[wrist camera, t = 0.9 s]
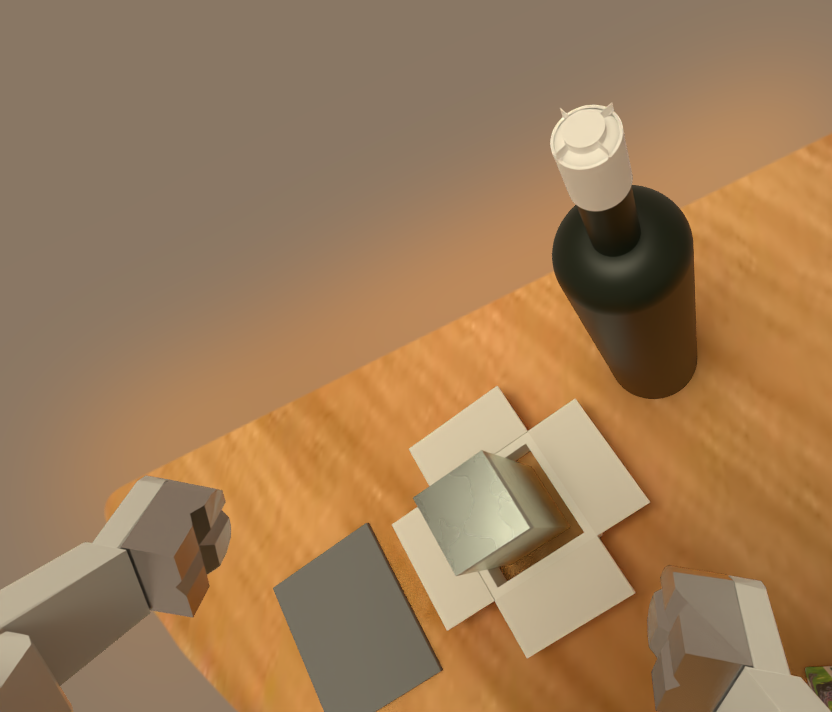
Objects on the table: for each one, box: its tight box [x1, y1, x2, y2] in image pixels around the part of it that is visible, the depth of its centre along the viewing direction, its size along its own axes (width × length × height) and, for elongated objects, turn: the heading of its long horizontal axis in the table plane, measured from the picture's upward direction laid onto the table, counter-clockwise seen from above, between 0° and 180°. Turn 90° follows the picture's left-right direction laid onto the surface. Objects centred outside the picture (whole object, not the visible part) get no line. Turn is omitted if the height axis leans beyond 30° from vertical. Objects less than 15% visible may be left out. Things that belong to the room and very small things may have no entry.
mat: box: [273, 523, 443, 712], centre depth 50 cm, size 10×12×1 cm
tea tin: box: [413, 450, 570, 576], centre depth 41 cm, size 5×5×12 cm
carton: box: [392, 386, 650, 658], centre depth 45 cm, size 16×16×3 cm
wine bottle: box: [550, 103, 697, 399], centre depth 32 cm, size 6×6×30 cm
